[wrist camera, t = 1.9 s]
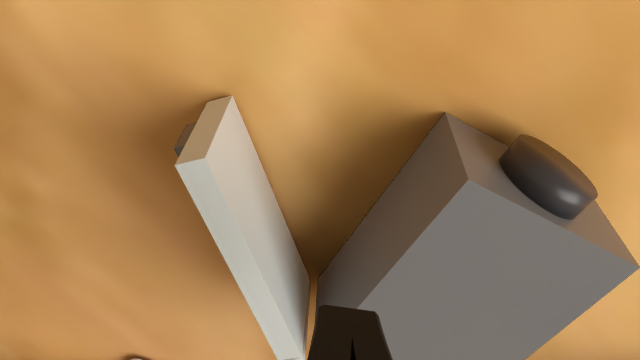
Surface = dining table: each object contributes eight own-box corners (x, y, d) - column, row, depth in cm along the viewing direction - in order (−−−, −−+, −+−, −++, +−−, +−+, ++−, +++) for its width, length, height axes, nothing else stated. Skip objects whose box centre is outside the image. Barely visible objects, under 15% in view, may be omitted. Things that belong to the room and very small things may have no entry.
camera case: (440, 330, 26) (456, 414, 22) (317, 278, 24) (312, 360, 21) (606, 171, 20) (664, 247, 17) (461, 90, 19) (489, 154, 15)
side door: (314, 289, 24) (308, 370, 21) (284, 295, 25) (273, 375, 21) (232, 95, 19) (204, 157, 15) (195, 105, 19) (159, 169, 16)
